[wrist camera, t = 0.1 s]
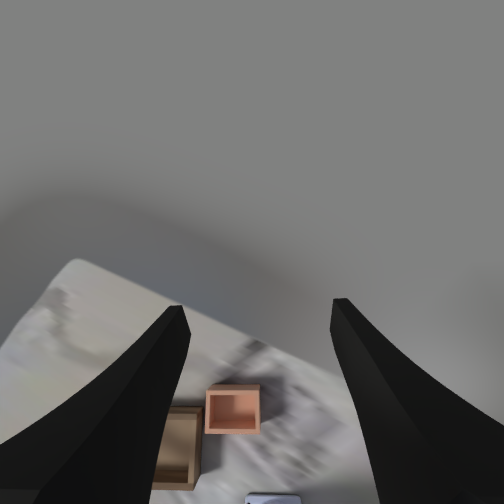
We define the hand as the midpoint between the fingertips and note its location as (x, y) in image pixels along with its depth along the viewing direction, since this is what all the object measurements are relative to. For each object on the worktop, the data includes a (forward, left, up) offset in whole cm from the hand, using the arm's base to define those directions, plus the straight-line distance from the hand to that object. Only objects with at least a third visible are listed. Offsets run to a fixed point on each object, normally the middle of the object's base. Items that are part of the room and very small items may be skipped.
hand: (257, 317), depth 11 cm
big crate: (-17, +17, -32) cm, 40 cm away
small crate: (-12, +5, -32) cm, 35 cm away
